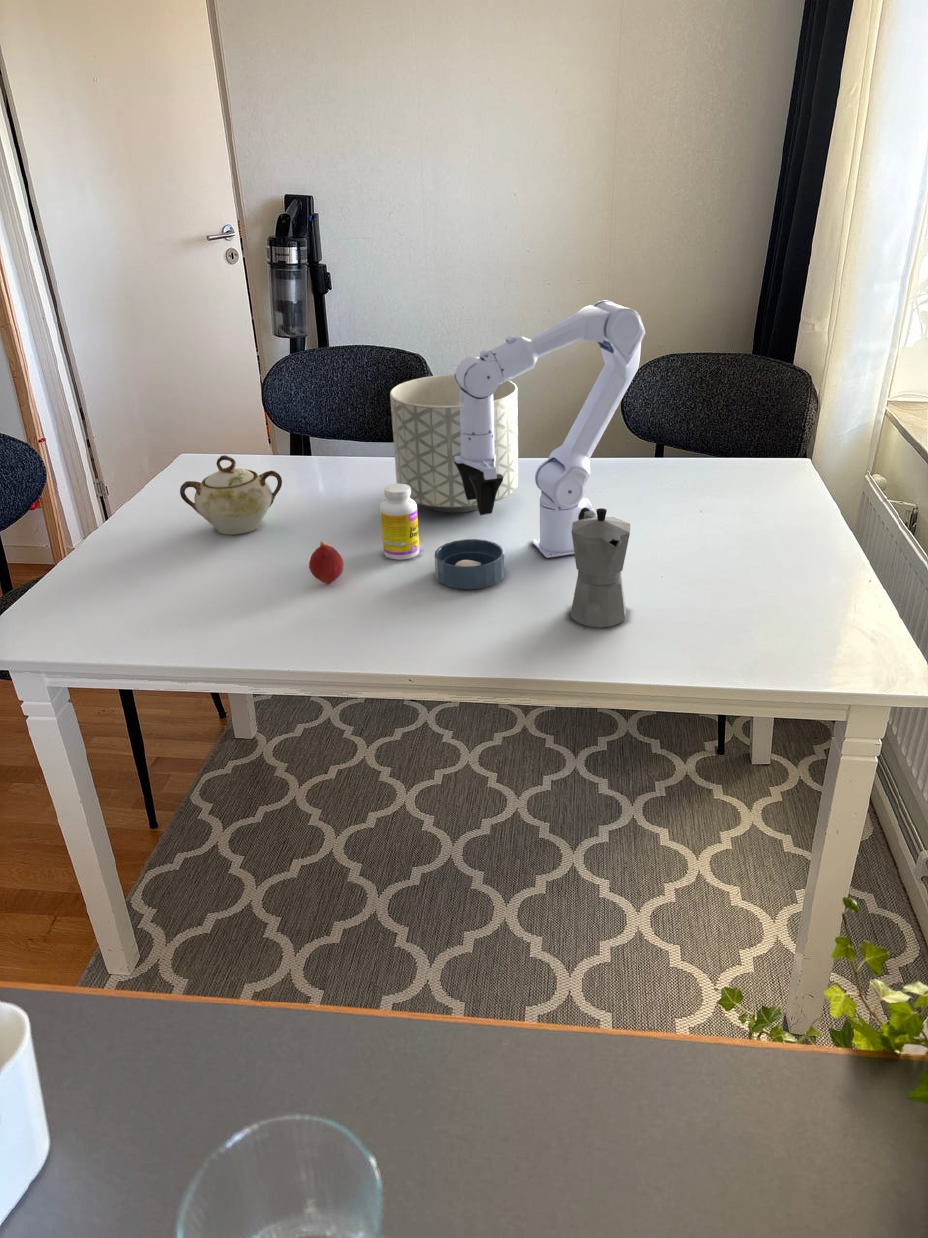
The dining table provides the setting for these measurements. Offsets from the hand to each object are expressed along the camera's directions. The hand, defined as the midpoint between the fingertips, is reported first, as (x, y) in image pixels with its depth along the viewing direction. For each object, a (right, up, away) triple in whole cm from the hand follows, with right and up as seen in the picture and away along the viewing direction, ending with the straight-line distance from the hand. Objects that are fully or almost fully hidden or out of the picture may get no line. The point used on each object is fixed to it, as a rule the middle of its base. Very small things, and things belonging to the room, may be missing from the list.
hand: (479, 506), depth 166 cm
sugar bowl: (-48, -2, +24) cm, 54 cm away
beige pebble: (-2, -12, -1) cm, 12 cm away
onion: (-26, -14, -2) cm, 30 cm away
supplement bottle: (-14, -8, +9) cm, 18 cm away
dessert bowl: (-2, -12, -1) cm, 13 cm away
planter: (-4, +4, +31) cm, 31 cm away
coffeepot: (+19, -19, -15) cm, 30 cm away
